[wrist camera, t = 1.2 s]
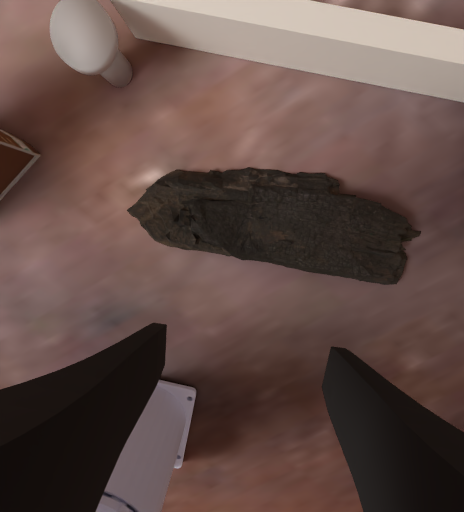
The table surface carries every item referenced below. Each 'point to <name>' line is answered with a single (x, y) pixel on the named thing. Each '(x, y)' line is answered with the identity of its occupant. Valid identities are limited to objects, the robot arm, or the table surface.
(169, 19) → the cream long bar
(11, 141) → the food container
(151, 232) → the wood
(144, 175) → the table surface
